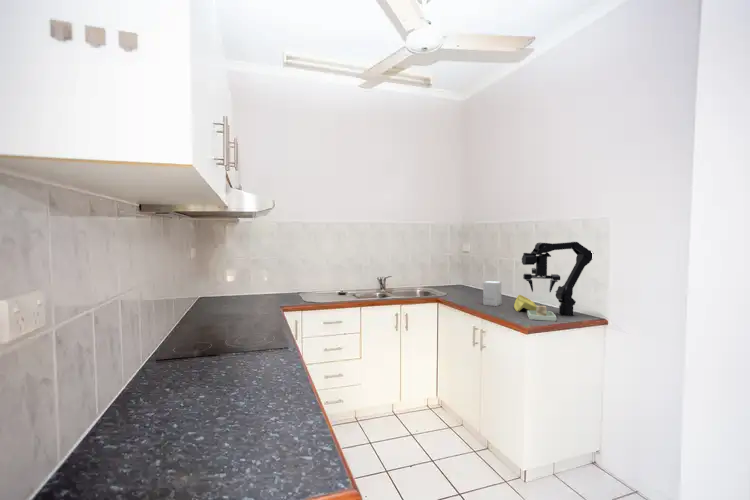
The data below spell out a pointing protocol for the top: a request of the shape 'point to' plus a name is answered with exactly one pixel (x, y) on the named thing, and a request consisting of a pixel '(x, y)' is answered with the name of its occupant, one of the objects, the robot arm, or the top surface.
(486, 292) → the supplement box
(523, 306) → the plastic component
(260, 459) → the top surface
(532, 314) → the tray
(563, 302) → the robot arm
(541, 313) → the beech block
